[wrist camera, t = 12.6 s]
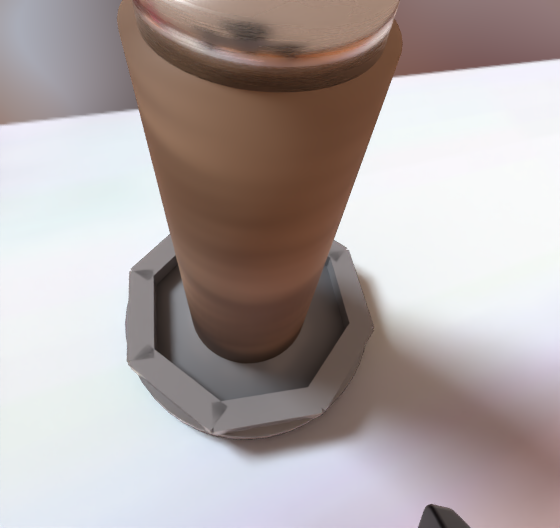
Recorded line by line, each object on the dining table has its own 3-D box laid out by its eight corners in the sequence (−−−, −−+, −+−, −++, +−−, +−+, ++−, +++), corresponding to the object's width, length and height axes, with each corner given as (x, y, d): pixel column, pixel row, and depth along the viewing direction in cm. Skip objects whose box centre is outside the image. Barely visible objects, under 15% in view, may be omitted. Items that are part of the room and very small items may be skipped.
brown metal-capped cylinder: (327, 313, 17) (486, -24, 6) (241, 388, 15) (249, 79, 4) (254, 243, 19) (277, -120, 8) (168, 301, 17) (35, -82, 6)
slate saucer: (393, 414, 16) (407, 406, 14) (126, 463, 14) (114, 459, 13) (330, 216, 21) (337, 197, 20) (132, 233, 19) (124, 212, 18)
